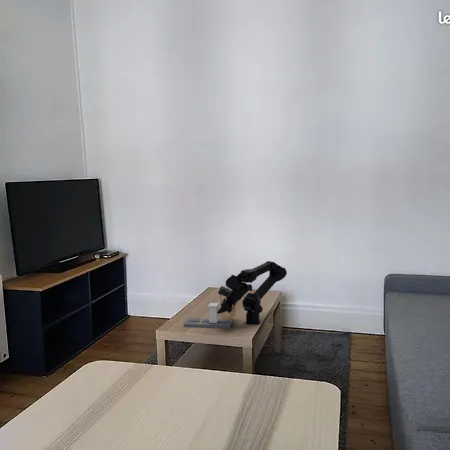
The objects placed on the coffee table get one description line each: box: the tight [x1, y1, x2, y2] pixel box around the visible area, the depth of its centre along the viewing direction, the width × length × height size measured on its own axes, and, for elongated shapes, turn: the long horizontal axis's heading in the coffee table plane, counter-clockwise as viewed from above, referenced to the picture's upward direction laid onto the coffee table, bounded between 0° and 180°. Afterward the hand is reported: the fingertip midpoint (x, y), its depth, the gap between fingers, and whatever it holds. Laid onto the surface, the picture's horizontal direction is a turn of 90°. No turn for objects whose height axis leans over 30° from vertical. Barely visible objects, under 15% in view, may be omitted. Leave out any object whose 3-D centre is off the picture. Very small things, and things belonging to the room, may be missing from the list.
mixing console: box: [183, 317, 233, 329], centre depth 241 cm, size 24×9×2 cm, turn 80°
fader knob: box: [207, 302, 220, 323], centre depth 239 cm, size 5×6×9 cm
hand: (218, 313), depth 239 cm, fingers closed
